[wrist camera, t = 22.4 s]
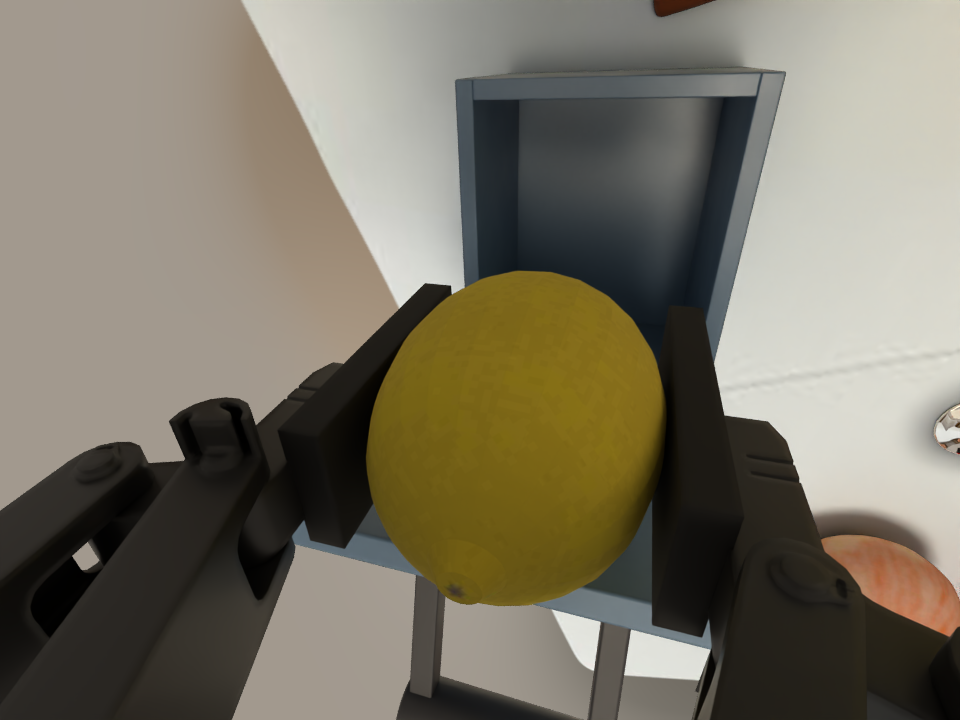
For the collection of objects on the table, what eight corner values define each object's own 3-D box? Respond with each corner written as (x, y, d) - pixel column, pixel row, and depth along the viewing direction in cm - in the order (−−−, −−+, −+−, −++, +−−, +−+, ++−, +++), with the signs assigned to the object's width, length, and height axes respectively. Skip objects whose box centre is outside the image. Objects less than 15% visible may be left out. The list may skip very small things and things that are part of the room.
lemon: (506, 182, 12) (323, 348, 5) (712, 297, 12) (786, 606, 5) (427, 350, 15) (253, 585, 8) (589, 441, 15) (539, 745, 8)
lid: (279, 514, 13) (280, 743, 15) (823, 643, 10) (756, 923, 11) (466, 383, 29) (458, 500, 30) (702, 416, 25) (680, 546, 27)
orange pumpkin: (828, 619, 43) (859, 719, 37) (738, 546, 42) (754, 637, 35) (968, 574, 37) (1035, 685, 30) (868, 487, 36) (916, 584, 29)
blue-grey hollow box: (509, 73, 29) (454, 79, 21) (745, 67, 26) (786, 71, 18) (508, 314, 37) (469, 385, 29) (689, 333, 34) (700, 419, 26)
